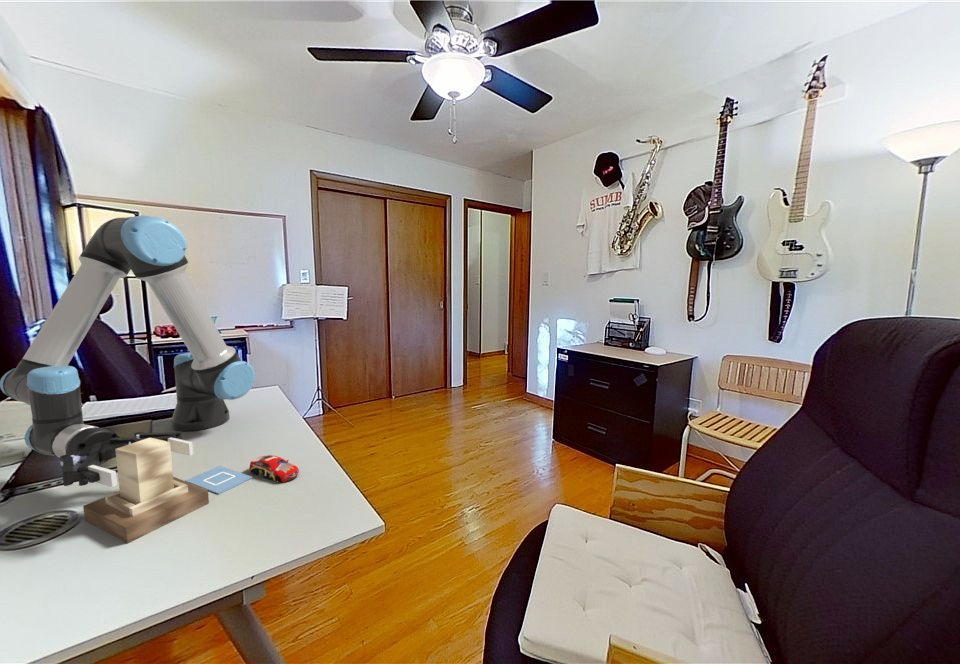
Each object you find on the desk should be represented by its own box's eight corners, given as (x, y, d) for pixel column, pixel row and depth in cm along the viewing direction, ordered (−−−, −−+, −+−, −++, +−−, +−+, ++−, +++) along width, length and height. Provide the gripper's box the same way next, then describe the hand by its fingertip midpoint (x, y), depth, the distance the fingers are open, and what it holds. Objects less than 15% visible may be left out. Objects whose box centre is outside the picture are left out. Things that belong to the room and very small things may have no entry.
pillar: (154, 487, 83) (150, 437, 81) (174, 492, 81) (170, 442, 79) (120, 502, 77) (115, 449, 76) (141, 508, 75) (135, 454, 74)
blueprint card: (220, 466, 98) (219, 465, 98) (252, 478, 93) (252, 476, 93) (185, 481, 91) (185, 480, 91) (218, 494, 86) (218, 492, 86)
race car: (303, 476, 95) (303, 460, 95) (284, 486, 90) (283, 470, 90) (266, 464, 101) (265, 449, 100) (246, 473, 96) (245, 457, 95)
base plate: (166, 486, 89) (165, 467, 88) (208, 503, 83) (207, 483, 82) (84, 520, 76) (82, 498, 75) (127, 543, 70) (125, 519, 69)
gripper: (154, 439, 96) (217, 454, 89) (4, 490, 72) (75, 516, 66) (151, 409, 95) (215, 422, 88) (-1, 452, 71) (70, 474, 65)
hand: (156, 462), depth 77 cm, fingers open, 13 cm apart
